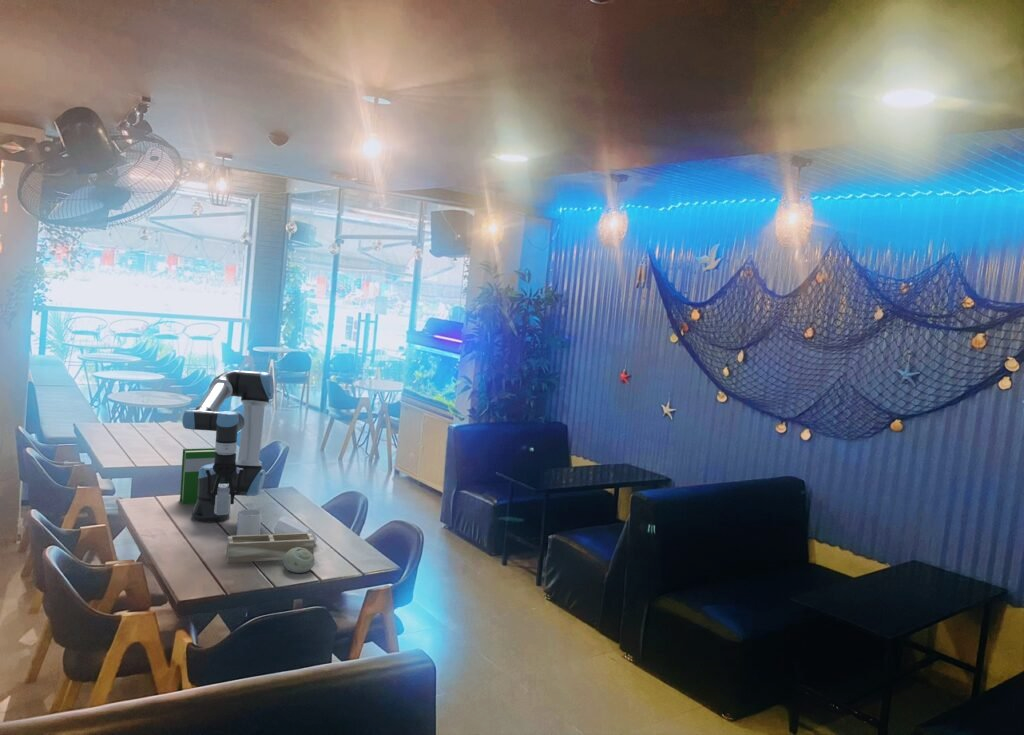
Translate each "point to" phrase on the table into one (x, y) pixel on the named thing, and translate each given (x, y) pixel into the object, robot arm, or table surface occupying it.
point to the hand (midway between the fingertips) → (222, 512)
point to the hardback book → (193, 471)
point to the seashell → (298, 560)
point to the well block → (266, 546)
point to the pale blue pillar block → (223, 499)
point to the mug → (249, 522)
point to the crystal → (291, 527)
